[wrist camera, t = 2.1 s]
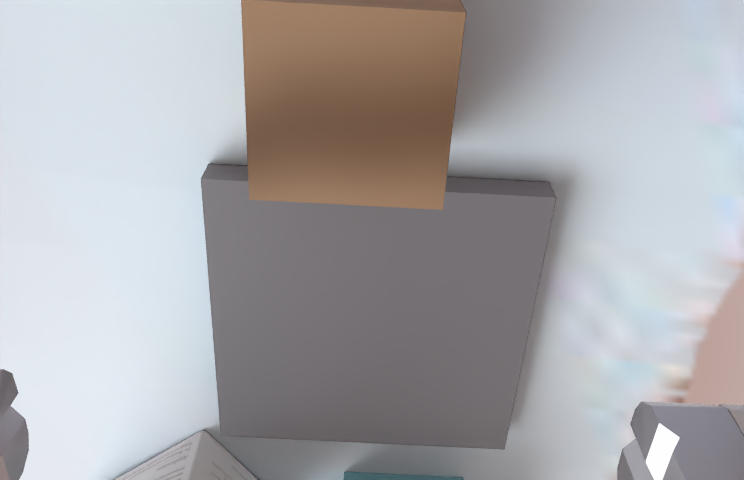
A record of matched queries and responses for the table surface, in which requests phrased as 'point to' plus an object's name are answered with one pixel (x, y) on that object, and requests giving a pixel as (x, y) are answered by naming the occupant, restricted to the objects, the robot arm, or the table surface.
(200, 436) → the skincare box
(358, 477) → the teal block
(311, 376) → the baseplate
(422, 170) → the walnut brick
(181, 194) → the table surface
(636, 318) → the table surface
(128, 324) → the table surface
